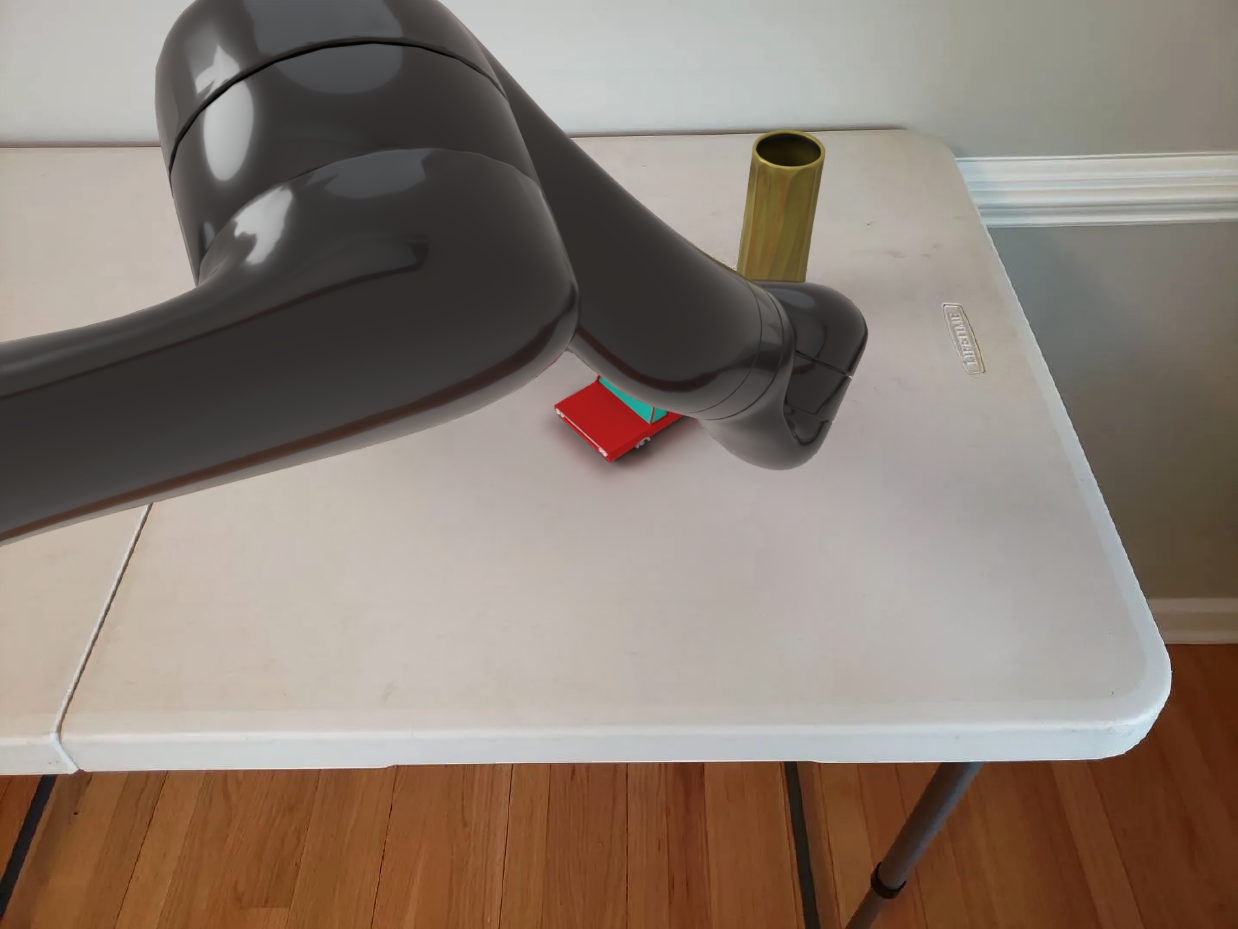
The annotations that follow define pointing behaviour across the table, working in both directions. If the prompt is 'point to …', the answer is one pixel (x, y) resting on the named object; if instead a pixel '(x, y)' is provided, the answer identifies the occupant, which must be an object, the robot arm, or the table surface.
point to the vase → (780, 205)
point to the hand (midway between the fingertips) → (350, 200)
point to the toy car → (611, 418)
